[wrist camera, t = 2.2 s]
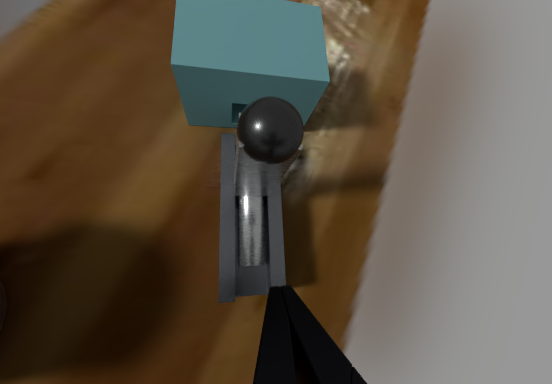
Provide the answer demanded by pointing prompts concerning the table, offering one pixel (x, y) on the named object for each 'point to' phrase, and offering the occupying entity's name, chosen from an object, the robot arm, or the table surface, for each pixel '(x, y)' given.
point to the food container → (2, 304)
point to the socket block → (247, 57)
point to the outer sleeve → (230, 273)
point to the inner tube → (262, 166)
